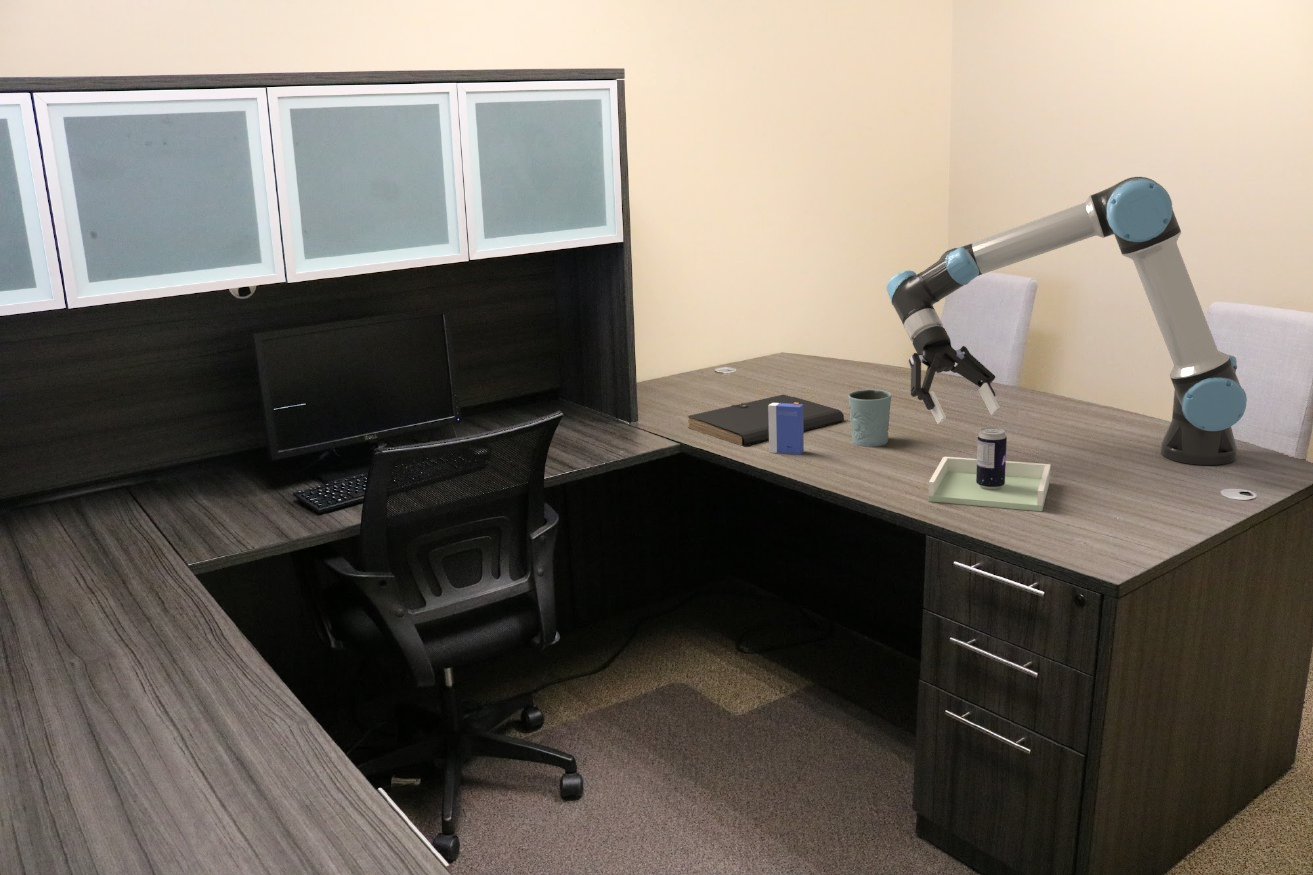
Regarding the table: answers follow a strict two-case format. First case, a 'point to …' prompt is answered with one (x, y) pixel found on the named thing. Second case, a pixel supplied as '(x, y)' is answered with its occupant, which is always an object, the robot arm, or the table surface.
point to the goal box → (960, 487)
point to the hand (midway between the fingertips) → (969, 416)
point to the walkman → (786, 428)
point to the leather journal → (758, 419)
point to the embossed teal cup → (869, 417)
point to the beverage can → (991, 458)
